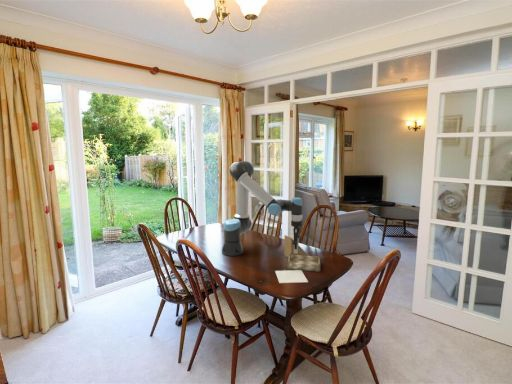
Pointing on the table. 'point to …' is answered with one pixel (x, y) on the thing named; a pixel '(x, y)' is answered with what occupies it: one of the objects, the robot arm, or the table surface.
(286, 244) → the sandwich container
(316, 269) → the crate
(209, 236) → the table surface
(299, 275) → the linen napkin
